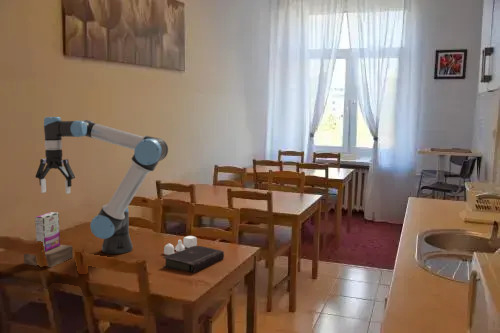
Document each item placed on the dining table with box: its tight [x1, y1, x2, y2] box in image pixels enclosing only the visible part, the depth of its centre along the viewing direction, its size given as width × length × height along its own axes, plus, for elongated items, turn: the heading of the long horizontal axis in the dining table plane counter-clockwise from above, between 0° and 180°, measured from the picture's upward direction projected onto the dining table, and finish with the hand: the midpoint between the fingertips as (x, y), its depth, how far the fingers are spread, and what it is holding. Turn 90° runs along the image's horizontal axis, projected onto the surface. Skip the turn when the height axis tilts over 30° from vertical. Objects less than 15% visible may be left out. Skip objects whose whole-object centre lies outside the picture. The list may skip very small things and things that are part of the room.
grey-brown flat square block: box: [23, 244, 74, 268], centre depth 225 cm, size 15×15×6 cm
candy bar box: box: [34, 211, 61, 252], centre depth 224 cm, size 11×5×16 cm, turn 166°
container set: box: [163, 235, 198, 256], centre depth 245 cm, size 20×5×6 cm, turn 142°
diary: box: [162, 245, 225, 274], centre depth 225 cm, size 19×25×5 cm
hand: (55, 192), depth 230 cm, fingers open, 13 cm apart
